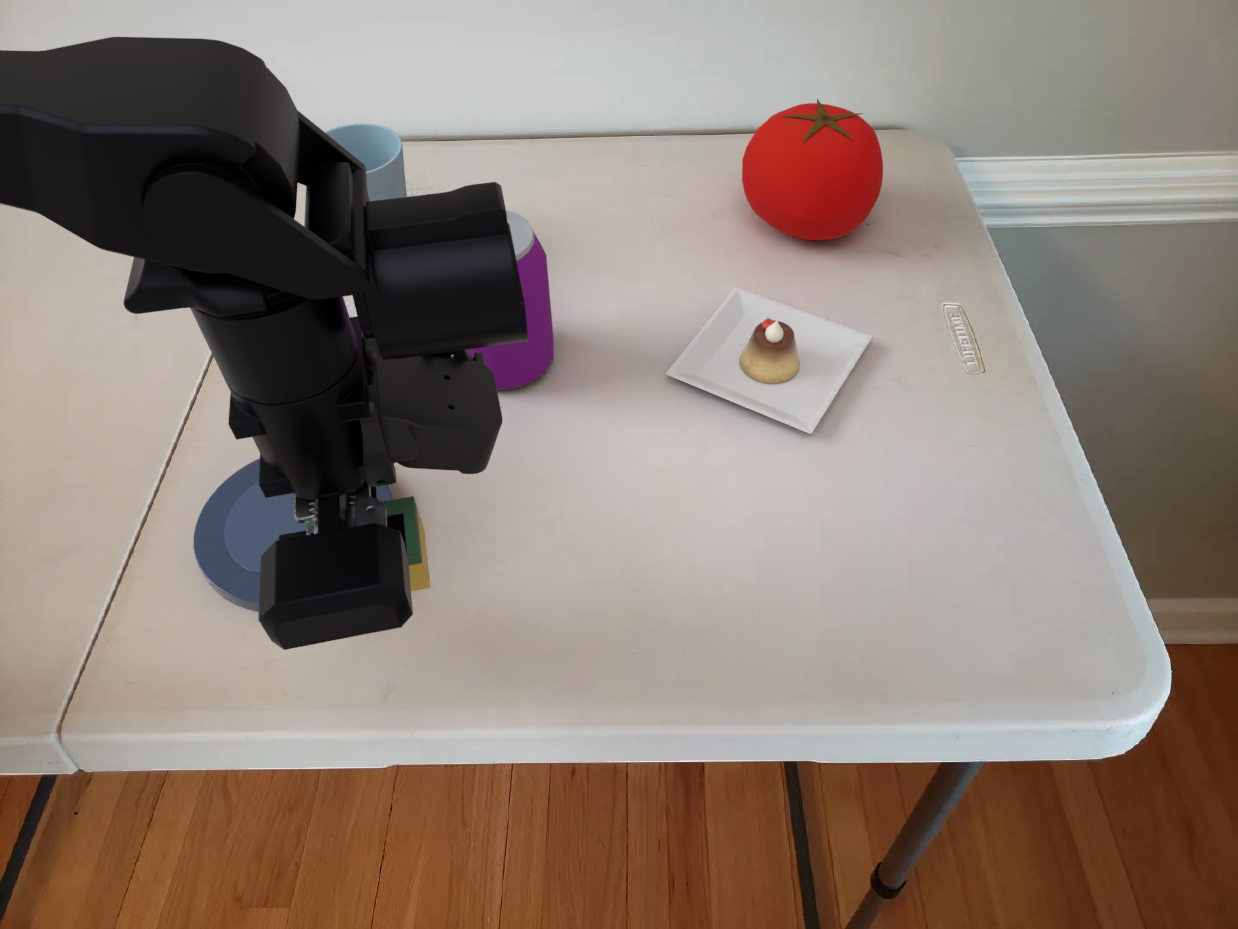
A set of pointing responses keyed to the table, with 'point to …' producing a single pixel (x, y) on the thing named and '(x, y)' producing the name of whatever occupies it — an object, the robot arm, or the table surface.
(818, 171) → the tomato
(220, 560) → the plate
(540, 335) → the beverage can
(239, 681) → the table surface
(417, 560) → the sponge
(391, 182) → the cup
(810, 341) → the dessert
